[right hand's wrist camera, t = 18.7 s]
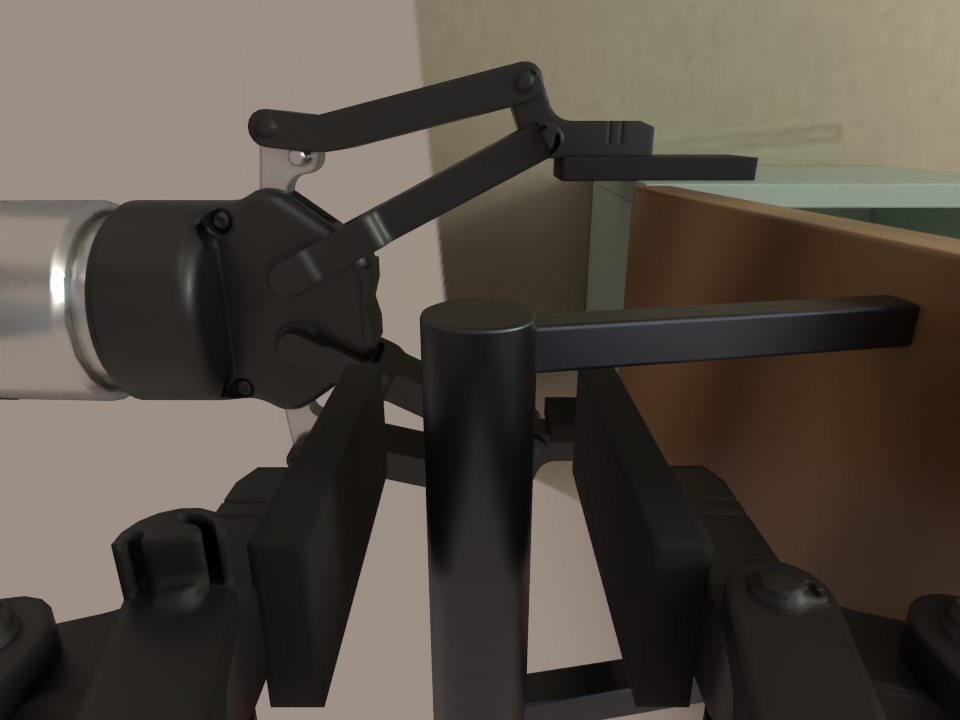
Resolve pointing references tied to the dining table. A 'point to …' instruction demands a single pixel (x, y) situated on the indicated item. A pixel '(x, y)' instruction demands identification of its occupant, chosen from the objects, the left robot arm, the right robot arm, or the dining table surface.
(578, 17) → the dining table surface
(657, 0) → the dining table surface
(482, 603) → the lid
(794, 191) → the chest
